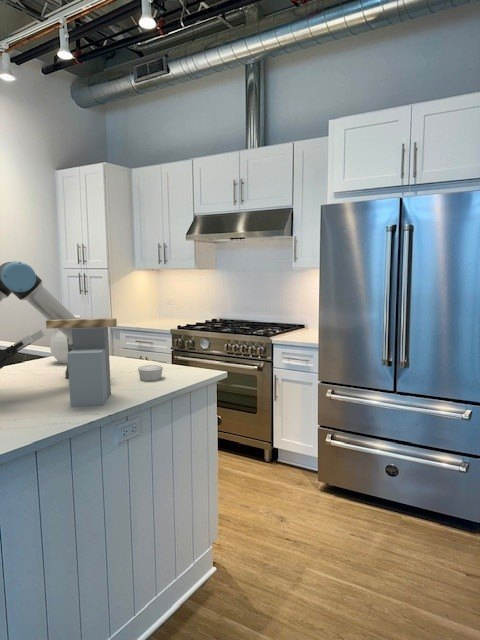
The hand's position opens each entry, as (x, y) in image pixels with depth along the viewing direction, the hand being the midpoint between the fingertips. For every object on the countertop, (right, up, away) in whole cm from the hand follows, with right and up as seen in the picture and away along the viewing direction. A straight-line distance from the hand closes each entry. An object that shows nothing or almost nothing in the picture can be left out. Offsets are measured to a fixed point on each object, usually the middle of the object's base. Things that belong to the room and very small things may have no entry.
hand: (37, 335), depth 178 cm
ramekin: (+38, -21, +33) cm, 54 cm away
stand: (+21, -25, +1) cm, 33 cm away
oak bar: (+17, +3, +1) cm, 17 cm away
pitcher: (-14, -17, +71) cm, 75 cm away
